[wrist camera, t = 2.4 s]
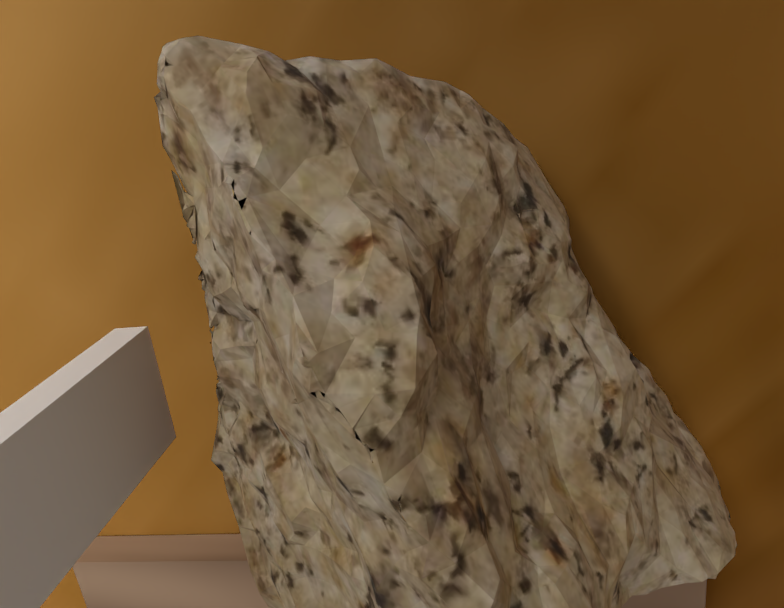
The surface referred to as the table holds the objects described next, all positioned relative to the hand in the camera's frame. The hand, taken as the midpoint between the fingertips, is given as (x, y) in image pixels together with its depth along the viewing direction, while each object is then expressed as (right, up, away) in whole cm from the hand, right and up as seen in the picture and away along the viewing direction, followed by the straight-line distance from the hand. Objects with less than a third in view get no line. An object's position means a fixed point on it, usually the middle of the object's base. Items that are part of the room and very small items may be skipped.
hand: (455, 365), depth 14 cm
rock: (+1, +2, +4) cm, 4 cm away
